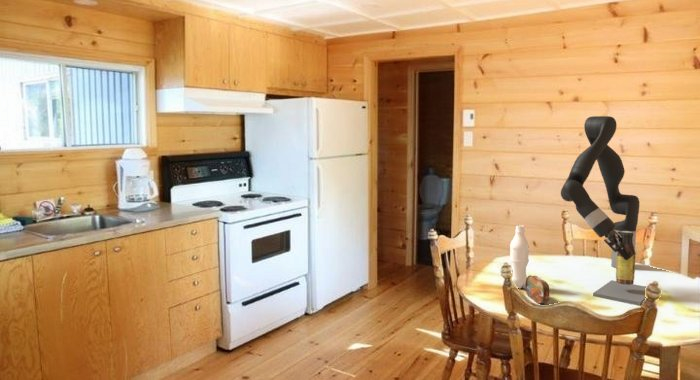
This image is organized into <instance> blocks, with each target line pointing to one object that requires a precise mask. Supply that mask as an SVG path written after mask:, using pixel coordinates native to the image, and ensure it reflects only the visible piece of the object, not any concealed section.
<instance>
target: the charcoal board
mask: <svg viewBox="0 0 700 380" xmlns="http://www.w3.org/2000/svg"><path fill="white" fill-rule="evenodd" d="M646 287H647V286H645V285H641V284H635V283H633V284H630V285H627V284H620V283H618V282H617V281H616V280H609V281H608V282H607V283H606V284H604V285H603V286H601V287H599V288H598V289H597V290H595V291H594V292H593V293H592V297H596V298H600V299H606V300H610V301H616V302H620V303H624V304H625V303H626V304H630V305H636V306H639V307H640V306H641V305H643V304H644V302H645V301H644V300H645V298H646V297H645V288H646ZM643 301H644V302H643Z"/></svg>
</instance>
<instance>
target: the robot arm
mask: <svg viewBox="0 0 700 380" xmlns="http://www.w3.org/2000/svg"><path fill="white" fill-rule="evenodd" d="M584 121H585V122H584V125H583V126H584V133H585V136H586V138H587V140H588V142H589V144H590V145H589V146H588V147H587V148H586V149H585V150H584V151H582V152H581V153H580V154H579V155H578V156H577V157H576V159H575V160H574V162H573V165H572V167H571V169H570V172H569V175H568V177H567V178H566V180H565V182H564V184H563V185H562V187H561V190H560V196H561V199H563V201H566V202H573V203H574V205H575V209H576V211H577V212H578V214H580V216H581V217H582V218H583V220H584V221H585V223H587V226H589V227H590V228H591V229H592V230H593V232H594V233H595V234H596V235H597V236H598V237H599V238H603V237H605V238H604V239H603V242H605V243H606V245H607V246H608V247H609V248H610V249H611V264H610V265H611V267H613V268H614V269H616V265H617V252H618V253H620V255H621V256H622V257H623V258H624V259H625V260H628V259H629V258H631V256H630V255H629V254H628V253H627V252H626V251H625V249H624V248H623V247H622V245H621V244H622V243H621V238H622V236H621V231H631V232H633V239H632V242H633V246H634V249H635V250H636V239H637V227H638V222H639V221H638V220H639V213H640V199H639V197H638V196H637V195H632V194H622V193H621V192H620V189H619V186H620V183H621V182H622V180H623V178H624V176H625V172H626V171H625V167H624V164H623V160H622V157H620V155H619V154H618V153H617V152H616V151H615V150H614V149H613V148H611V147H610V146H609V145H608V144H609V143H610V141H611V140H612V138H613V137H614V135H615V134H616V131H617V126H618V125H617V120H616V119H615V117H613V116H609V115H607V116H606V115H605V116H604V115H600V116H599V115H598V116H596V115H595V116H589V117H588V118H586V119H585V120H584ZM596 162H597V164H598V168H599V172H600V175H601V177H602V179H603V183H604V186H605V188H606V194H607V197H608V204H609V206H610V210H611V211H612V213H614V214H616V215H622V216H625V218H624V220H621V221H615V222H614V221H613V220H612V219H611V218H610V217H609V216H608V215H607V214H606V212H605V211H604V210H602V209H601V208H600V207H599V206H598V205H597V204H596V203H595V202H594V201H593V200H592V198H591V196H590V195H589V193H588V191H587V190H586V189H585V187H584V184H585V182H586V181H587V179H588V178H589V176H590V174H591V171H592V169H593V167H594V165H595V163H596Z"/></svg>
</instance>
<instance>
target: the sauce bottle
mask: <svg viewBox="0 0 700 380" xmlns="http://www.w3.org/2000/svg"><path fill="white" fill-rule="evenodd" d="M621 236H622V238H621V243H622V244H621V245H622V247H623V248H624V249H625V251H626V252H627V253H628V254H629V255H630V256H631V258H629V259H628V260H625V259H624V258H623V257H622V256H621V255H620V253H618V252H617V265H616V268H615V281H617V282H618V283H620V284H627V285H630V284H635V283H634V282H635V272H636V269H635V268H636V255H637V253H636V248H635V249H634V246H633V242H632V239H633V232H631V231H621Z"/></svg>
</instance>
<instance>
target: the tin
mask: <svg viewBox="0 0 700 380" xmlns="http://www.w3.org/2000/svg"><path fill="white" fill-rule="evenodd" d="M525 286H526V288H525V292H526V295H527V297H528V298H530V299H531V300H533V301H534V302H535V303H537V304H547V303H548V302H549V299H550V291H551V289H550V285H549V284H548V282H547V281H546V280H544V279H542V278H541V277H539V276H537V275H531V274H530V275H529V274H528V276H527V279H526V285H525Z"/></svg>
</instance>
